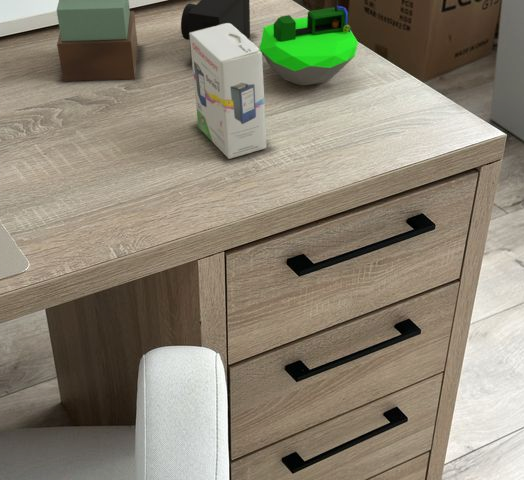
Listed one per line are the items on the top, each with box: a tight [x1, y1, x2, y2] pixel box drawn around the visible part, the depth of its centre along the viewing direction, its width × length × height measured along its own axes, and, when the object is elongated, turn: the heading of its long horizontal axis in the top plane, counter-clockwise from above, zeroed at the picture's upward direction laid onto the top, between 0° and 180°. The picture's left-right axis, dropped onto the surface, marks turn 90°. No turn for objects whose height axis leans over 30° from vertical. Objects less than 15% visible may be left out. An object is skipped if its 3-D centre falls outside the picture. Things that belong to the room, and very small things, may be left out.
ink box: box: [189, 23, 267, 160], centre depth 105 cm, size 9×5×12 cm, turn 27°
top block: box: [56, 0, 131, 41], centre depth 118 cm, size 8×8×4 cm
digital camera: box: [180, 0, 251, 65], centre depth 123 cm, size 10×5×7 cm, turn 160°
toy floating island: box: [259, 0, 359, 86], centre depth 116 cm, size 12×12×11 cm
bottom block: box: [56, 10, 139, 82], centre depth 121 cm, size 9×9×5 cm
